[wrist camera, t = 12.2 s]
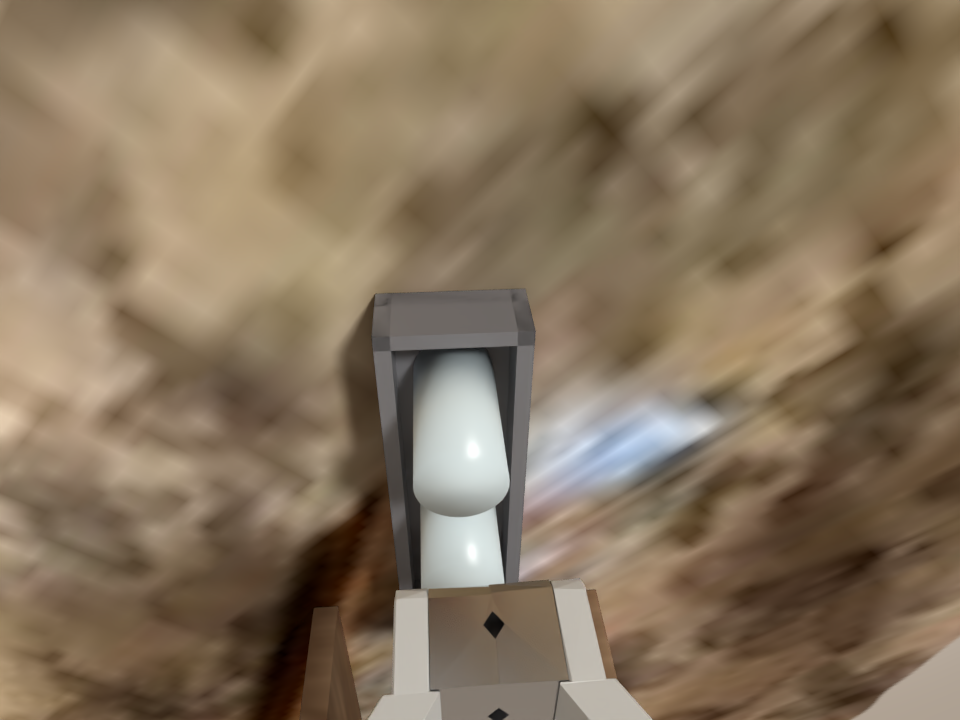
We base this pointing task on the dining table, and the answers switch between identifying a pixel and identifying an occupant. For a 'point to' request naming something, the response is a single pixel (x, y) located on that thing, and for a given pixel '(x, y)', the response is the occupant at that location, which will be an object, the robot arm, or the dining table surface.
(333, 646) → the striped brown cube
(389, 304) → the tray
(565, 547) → the dining table surface
